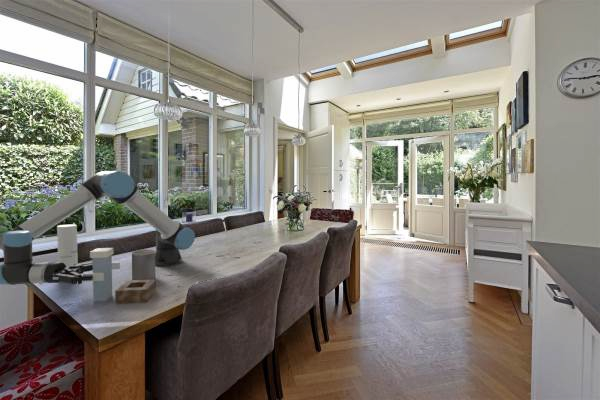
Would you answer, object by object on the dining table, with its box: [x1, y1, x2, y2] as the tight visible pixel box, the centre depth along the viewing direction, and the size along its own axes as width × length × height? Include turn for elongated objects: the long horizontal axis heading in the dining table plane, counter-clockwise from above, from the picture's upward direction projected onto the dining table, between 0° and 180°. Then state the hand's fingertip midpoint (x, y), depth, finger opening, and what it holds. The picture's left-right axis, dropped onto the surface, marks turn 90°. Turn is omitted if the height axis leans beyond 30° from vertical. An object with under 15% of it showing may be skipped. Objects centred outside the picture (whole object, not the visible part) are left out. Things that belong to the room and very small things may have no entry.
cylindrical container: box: [56, 224, 79, 267], centre depth 135 cm, size 7×7×25 cm
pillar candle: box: [131, 249, 156, 280], centre depth 134 cm, size 10×10×15 cm
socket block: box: [114, 279, 157, 305], centre depth 113 cm, size 11×11×6 cm
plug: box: [89, 247, 114, 303], centre depth 110 cm, size 6×6×20 cm
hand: (112, 270), depth 111 cm, fingers open, 13 cm apart
